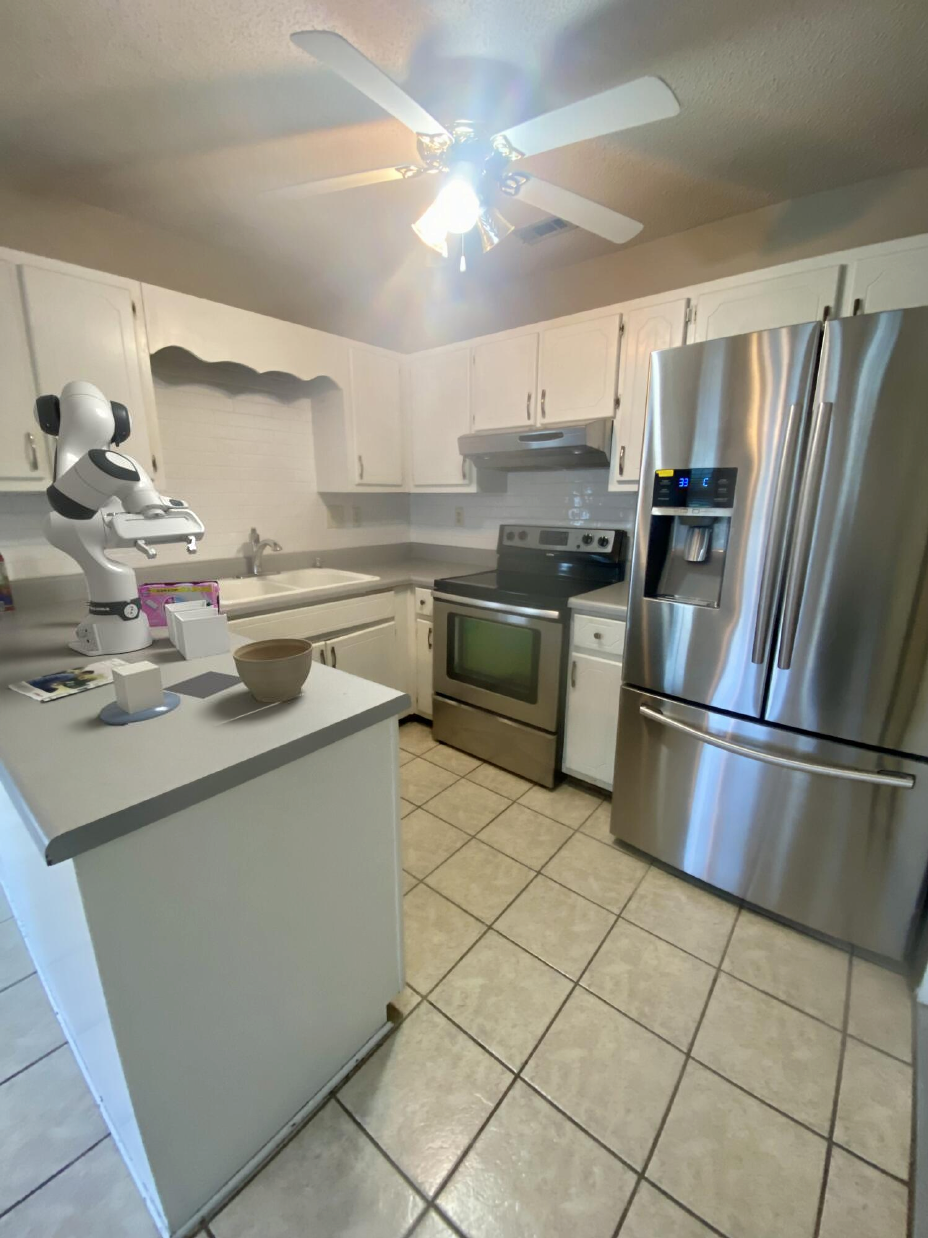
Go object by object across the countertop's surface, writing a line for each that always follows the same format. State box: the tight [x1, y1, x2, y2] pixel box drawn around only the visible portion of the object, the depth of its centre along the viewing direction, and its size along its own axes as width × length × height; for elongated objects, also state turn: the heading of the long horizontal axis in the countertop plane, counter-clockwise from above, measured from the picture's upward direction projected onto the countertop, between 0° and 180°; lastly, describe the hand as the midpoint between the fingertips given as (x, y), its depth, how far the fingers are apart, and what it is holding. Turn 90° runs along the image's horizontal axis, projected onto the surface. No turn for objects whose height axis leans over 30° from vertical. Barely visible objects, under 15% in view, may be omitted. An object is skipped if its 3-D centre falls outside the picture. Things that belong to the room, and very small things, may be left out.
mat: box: [163, 670, 243, 700], centre depth 117 cm, size 13×13×1 cm
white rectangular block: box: [111, 660, 165, 714], centre depth 103 cm, size 6×6×8 cm
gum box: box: [137, 580, 221, 628], centre depth 172 cm, size 24×8×14 cm, turn 103°
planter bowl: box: [232, 637, 314, 703], centre depth 110 cm, size 16×16×11 cm
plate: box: [99, 691, 182, 726], centre depth 104 cm, size 14×14×1 cm
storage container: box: [165, 600, 232, 661], centre depth 146 cm, size 25×11×11 cm, turn 39°
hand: (173, 554), depth 122 cm, fingers open, 8 cm apart
